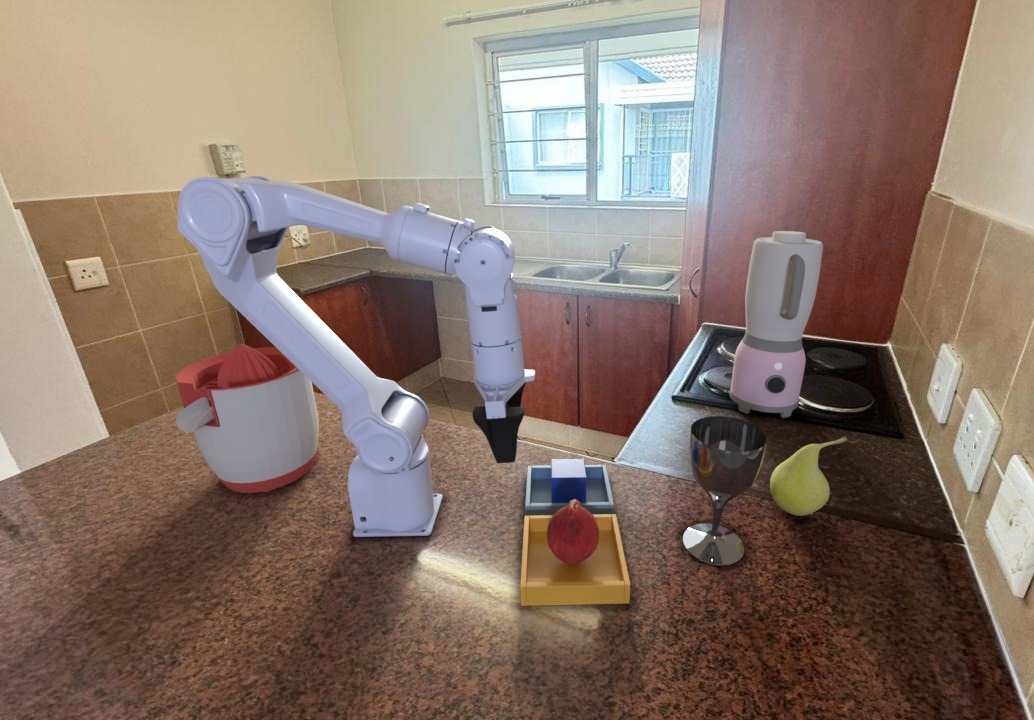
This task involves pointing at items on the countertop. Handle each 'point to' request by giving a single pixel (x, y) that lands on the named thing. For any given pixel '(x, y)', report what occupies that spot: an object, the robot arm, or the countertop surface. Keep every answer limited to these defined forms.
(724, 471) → the wine glass
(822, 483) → the fruit
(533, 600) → the ochre tray
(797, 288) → the blender
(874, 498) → the countertop surface
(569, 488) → the blue block
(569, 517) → the onion
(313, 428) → the citrus juicer
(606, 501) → the gray tray
